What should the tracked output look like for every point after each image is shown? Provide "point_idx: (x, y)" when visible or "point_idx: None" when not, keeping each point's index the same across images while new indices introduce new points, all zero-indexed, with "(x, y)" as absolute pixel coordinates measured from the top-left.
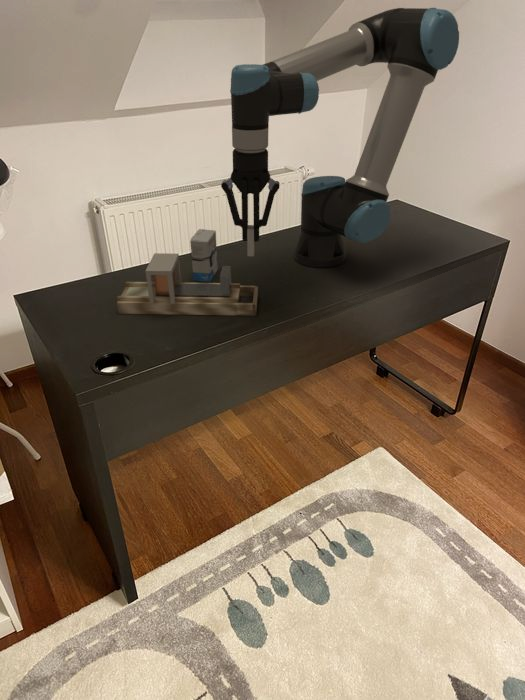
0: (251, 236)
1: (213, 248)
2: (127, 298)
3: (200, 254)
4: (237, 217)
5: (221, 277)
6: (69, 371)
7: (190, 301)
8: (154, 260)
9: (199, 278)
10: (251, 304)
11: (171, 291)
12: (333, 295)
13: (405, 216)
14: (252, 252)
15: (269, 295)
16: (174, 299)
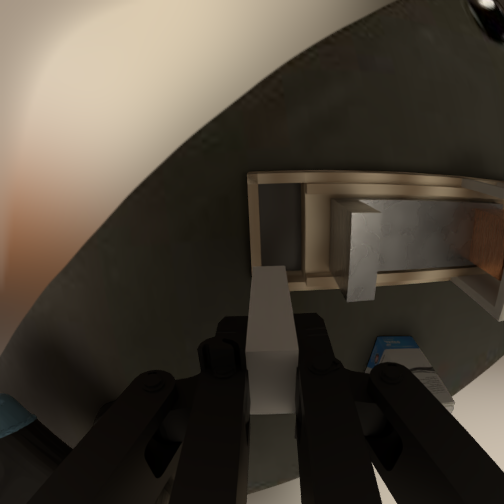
0: (264, 321)
1: None
2: None
3: (420, 379)
4: (400, 412)
5: (375, 212)
6: None
7: (431, 185)
8: None
9: (402, 340)
10: (260, 175)
11: (485, 183)
12: (79, 290)
13: None
14: (259, 274)
15: (223, 285)
16: (467, 182)
